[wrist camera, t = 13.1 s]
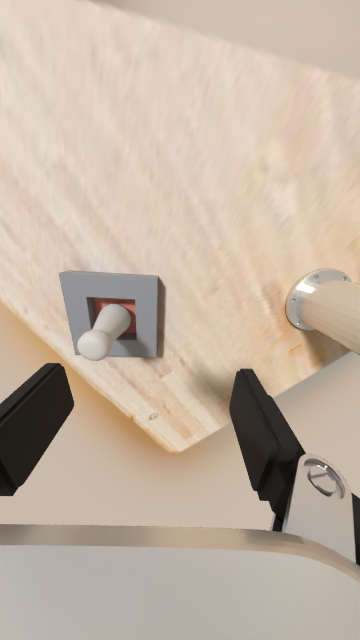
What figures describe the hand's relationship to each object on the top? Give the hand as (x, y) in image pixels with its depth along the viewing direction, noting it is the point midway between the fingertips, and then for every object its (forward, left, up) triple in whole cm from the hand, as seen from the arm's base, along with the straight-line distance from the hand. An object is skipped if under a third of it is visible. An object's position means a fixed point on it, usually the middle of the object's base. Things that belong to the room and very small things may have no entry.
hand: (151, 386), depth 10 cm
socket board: (+9, +6, -26) cm, 28 cm away
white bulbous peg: (+9, +6, -26) cm, 28 cm away
